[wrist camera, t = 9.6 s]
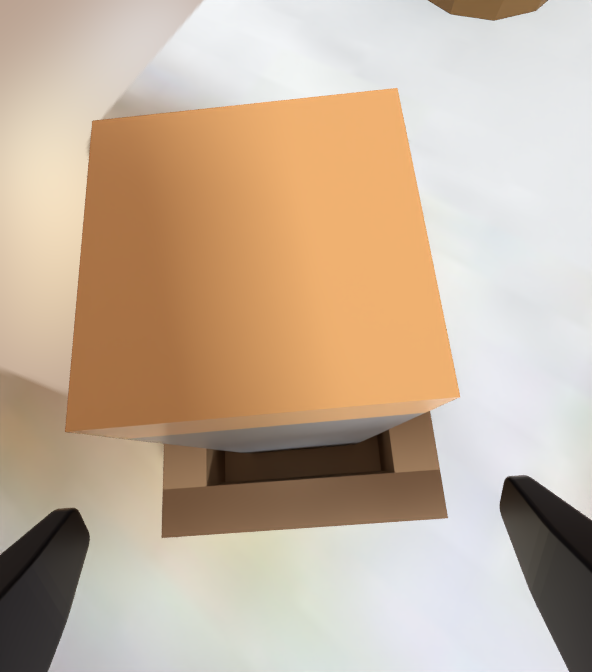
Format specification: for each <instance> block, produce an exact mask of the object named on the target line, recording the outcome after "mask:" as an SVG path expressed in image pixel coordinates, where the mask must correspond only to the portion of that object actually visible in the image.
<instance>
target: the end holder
mask: <svg viewBox="0 0 592 672" xmlns="http://www.w3.org/2000/svg"><path fill="white" fill-rule="evenodd" d="M442 518H448V516H447V510H446V504H445V498H444V492H443V486H442V480H441V474H440V468H439V462H438V456H437V450H436V444H435V438H434V432H433V426H432V420H431V414H430V411H428V412H426V413H424V414H422V415H419V416H417V417H415V418H413V419H411V420H408V421H406V422H404V423H402V424H399V425H397V426H395V427H393V428H391V429H388V430H386V431H384V432H382V433H380V434H377V435H375V436H373V437H371V438H369V439H366V440H364V441H362V442H360V443H358V444H355V445H345V446H333V447H322V448H310V449H299V450H287V451H275V452H264V453H252V454H248V453H240V452H231V451H223V450H214V449H206V448H197V447H189V446H180V445H172V444H164V467H163V505H162V538H167V537H181V536H196V535H210V534H225V533H239V532H254V531H268V530H283V529H297V528H312V527H326V526H341V525H355V524H370V523H384V522H399V521H413V520H428V519H442Z"/></svg>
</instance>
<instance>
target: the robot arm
mask: <svg viewBox="0 0 592 672" xmlns="http://www.w3.org/2000/svg"><path fill="white" fill-rule="evenodd" d="M500 512H501V516H502V519H503V521H504V524H505V527H506V529H507V532H508V535H509V537H510V540H511V542H512V545H513V548H514V550H515V553H516V556H517V558H518V561H519V564H520V566H521V569H522V572H523V574H524V577H525V580H526V582H527V585H528V587H529V590H530V592H531V594H532V596H533V599H534V601H535V603H536V605H537V607H538V609H539V611H540V613H541V615H542V617H543V619H544V621H545V623H546V625H547V627H548V630H549V632H550V634H551V636H552V638H553V640H554V642H555V644H556V646H557V648H558V650H559V652H560V654H561V656H562V658H563V660H564V662H565V664H566V666H567V668H568V670H569V672H592V520H590V519H589V518H588V517H586V516H585V515H583V514H582V513H581V512H579V511H578V510H576V509H575V508H573V507H572V506H571V505H569V504H568V503H566V502H565V501H564V500H562V499H561V498H559V497H558V496H556V495H555V494H554V493H552V492H551V491H549V490H548V489H547V488H545V487H544V486H542V485H541V484H539V483H538V482H537V481H535V480H534V479H532V478H531V477H529V476H526V475H519V476H508V477H507V478H506V479H505V481H504V485H503V490H502V495H501V500H500ZM89 540H90V536H89V532H88V529H87V527H86V525H85V523H84V521H83V519H82V517H81V515H80V513H79V511H78V510H77V509H76V508H62V509H56V510H54V511H53V512H51V513H50V514H49V515H48V516H46V517H45V518H44V519H43V520H42V521H40V522H39V523H38V524H37V525H36V526H34V527H33V528H32V529H31V530H30V531H28V532H27V533H26V534H25V535H24V536H22V537H21V538H20V539H19V540H18V541H16V542H15V543H14V544H13V545H12V546H10V547H9V548H8V549H7V550H6V551H4V552H3V553H2V554H1V555H0V672H48V669H49V667H50V664H51V662H52V659H53V657H54V654H55V651H56V649H57V646H58V644H59V641H60V638H61V636H62V633H63V630H64V628H65V625H66V622H67V619H68V616H69V612H70V609H71V606H72V602H73V599H74V595H75V592H76V588H77V585H78V581H79V578H80V574H81V571H82V567H83V564H84V560H85V557H86V553H87V550H88V546H89Z"/></svg>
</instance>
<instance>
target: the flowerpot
mask: <svg viewBox="0 0 592 672" xmlns="http://www.w3.org/2000/svg"><path fill="white" fill-rule="evenodd" d="M428 1H430V2H432V3H433V4H435V5H437V6H438V7H440V8H441V9H443V10H445V11H446V12H448V13H450V14H453V15H460V16H467V17H473V18H480V19H487V20H494V21H495V20H499V19H503V18H507V17H512V16H516V15H520V14H525V13H529V12H533V11H536V10H537V9H538V8H540V7H541V6H542V5H543V4H544V3H545V2H547V1H548V0H428Z"/></svg>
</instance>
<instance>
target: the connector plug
mask: <svg viewBox="0 0 592 672" xmlns="http://www.w3.org/2000/svg"><path fill="white" fill-rule="evenodd" d="M459 397H460V393H459V388H458V383H457V379H456V374H455V369H454V364H453V359H452V354H451V349H450V344H449V339H448V334H447V329H446V325H445V320H444V315H443V310H442V305H441V300H440V295H439V290H438V285H437V280H436V275H435V270H434V266H433V261H432V256H431V251H430V246H429V241H428V236H427V231H426V226H425V221H424V216H423V212H422V207H421V202H420V197H419V192H418V187H417V182H416V177H415V172H414V167H413V162H412V158H411V153H410V148H409V143H408V138H407V133H406V128H405V123H404V118H403V113H402V108H401V103H400V99H399V94H398V89H397V88H393V89H384V90H374V91H365V92H356V93H347V94H337V95H328V96H319V97H309V98H300V99H291V100H281V101H272V102H263V103H254V104H244V105H235V106H226V107H216V108H207V109H198V110H188V111H179V112H170V113H160V114H151V115H142V116H133V117H123V118H114V119H105V120H95V121H92V131H91V142H90V153H89V165H88V176H87V189H86V199H85V210H84V222H83V233H82V245H81V256H80V268H79V280H78V290H77V302H76V313H75V324H74V336H73V348H72V359H71V370H70V381H69V393H68V404H67V416H66V427H65V432H70V433H78V434H87V435H95V436H104V437H112V438H121V439H129V440H138V441H146V442H155V443H163V444H172V445H180V446H189V447H197V448H206V449H214V450H223V451H231V452H240V453H248V454H252V453H264V452H275V451H287V450H299V449H310V448H322V447H333V446H345V445H355V444H358V443H360V442H362V441H364V440H366V439H369V438H371V437H373V436H375V435H377V434H380V433H382V432H384V431H386V430H388V429H391V428H393V427H395V426H397V425H399V424H402V423H404V422H406V421H408V420H411V419H413V418H415V417H417V416H419V415H422V414H424V413H426V412H428V411H430V410H433V409H435V408H437V407H439V406H441V405H444V404H446V403H448V402H450V401H452V400H455V399H457V398H459Z"/></svg>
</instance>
